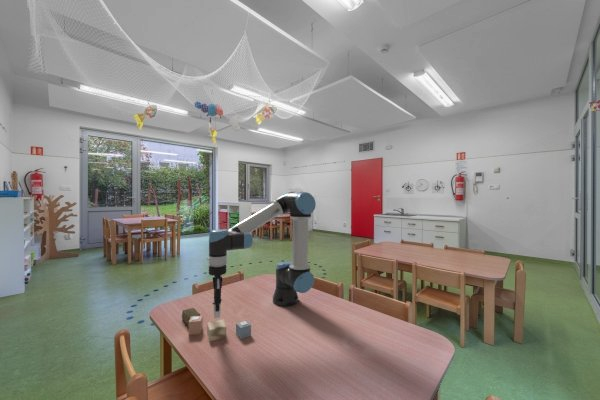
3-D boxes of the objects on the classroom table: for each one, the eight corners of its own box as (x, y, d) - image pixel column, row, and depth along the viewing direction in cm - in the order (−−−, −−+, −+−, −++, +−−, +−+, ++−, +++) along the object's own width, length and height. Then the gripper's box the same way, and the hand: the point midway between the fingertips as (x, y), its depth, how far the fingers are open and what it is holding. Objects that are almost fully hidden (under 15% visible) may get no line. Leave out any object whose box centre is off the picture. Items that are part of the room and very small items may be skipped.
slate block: (246, 330, 117) (246, 319, 117) (250, 335, 113) (251, 323, 113) (235, 334, 114) (236, 322, 114) (240, 339, 110) (240, 327, 110)
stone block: (189, 328, 118) (189, 318, 118) (181, 319, 127) (181, 309, 127) (201, 324, 122) (201, 314, 122) (193, 316, 131) (193, 306, 131)
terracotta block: (202, 328, 119) (202, 315, 119) (200, 334, 114) (200, 320, 114) (191, 329, 118) (191, 315, 118) (188, 335, 113) (188, 321, 113)
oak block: (223, 330, 118) (223, 319, 118) (226, 337, 111) (226, 326, 111) (207, 333, 115) (207, 322, 114) (209, 341, 108) (209, 330, 108)
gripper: (208, 261, 117) (207, 312, 118) (209, 269, 105) (208, 325, 106) (225, 260, 120) (224, 309, 121) (227, 268, 108) (227, 322, 108)
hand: (217, 317), depth 113 cm, fingers closed
